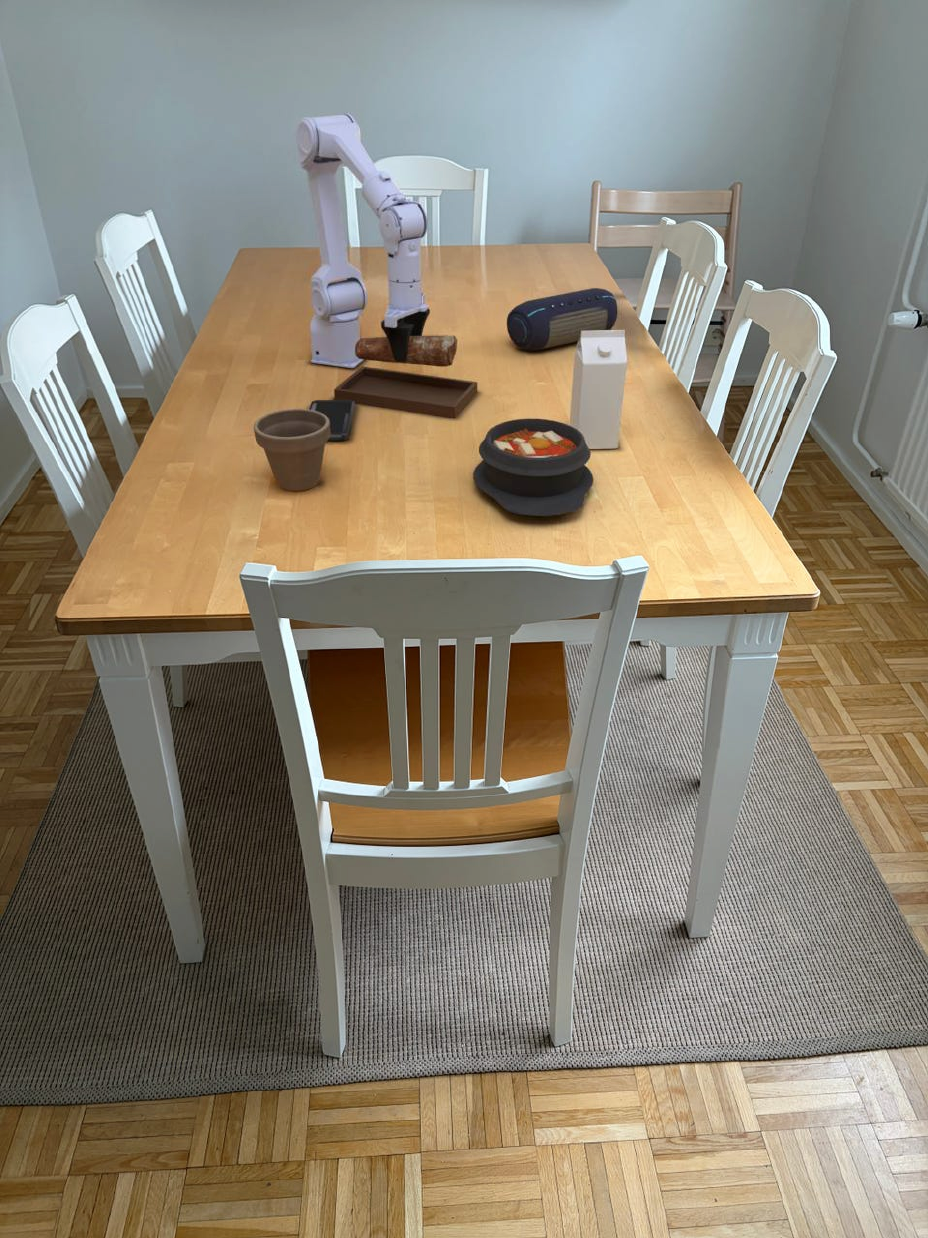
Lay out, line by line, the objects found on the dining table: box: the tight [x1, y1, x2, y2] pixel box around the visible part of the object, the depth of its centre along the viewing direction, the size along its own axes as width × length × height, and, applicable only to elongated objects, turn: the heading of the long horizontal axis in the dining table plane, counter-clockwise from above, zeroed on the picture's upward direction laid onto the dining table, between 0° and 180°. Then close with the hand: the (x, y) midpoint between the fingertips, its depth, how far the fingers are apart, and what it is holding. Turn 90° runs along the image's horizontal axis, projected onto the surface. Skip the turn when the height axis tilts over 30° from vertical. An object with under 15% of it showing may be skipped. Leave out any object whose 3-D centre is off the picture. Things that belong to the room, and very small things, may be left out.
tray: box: [333, 365, 478, 419], centre depth 177 cm, size 24×13×2 cm, turn 71°
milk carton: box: [568, 329, 628, 450], centre depth 157 cm, size 7×7×19 cm
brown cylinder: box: [355, 334, 458, 368], centre depth 173 cm, size 6×19×6 cm, turn 78°
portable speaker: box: [506, 287, 619, 351], centre depth 199 cm, size 25×10×10 cm, turn 123°
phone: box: [308, 399, 356, 442], centre depth 167 cm, size 8×1×15 cm
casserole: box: [472, 418, 594, 517], centre depth 146 cm, size 25×19×8 cm
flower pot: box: [253, 408, 330, 492], centre depth 146 cm, size 12×11×10 cm
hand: (406, 354), depth 173 cm, fingers closed on brown cylinder, 6 cm apart
